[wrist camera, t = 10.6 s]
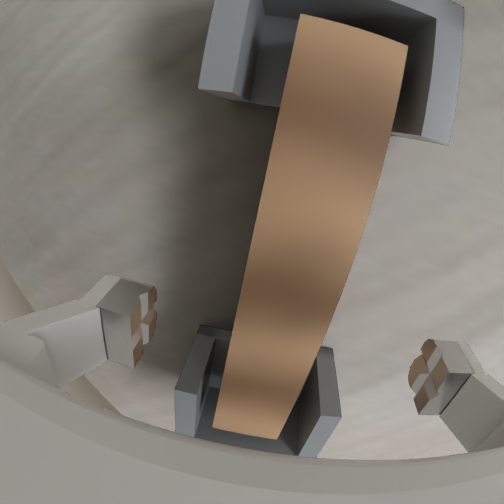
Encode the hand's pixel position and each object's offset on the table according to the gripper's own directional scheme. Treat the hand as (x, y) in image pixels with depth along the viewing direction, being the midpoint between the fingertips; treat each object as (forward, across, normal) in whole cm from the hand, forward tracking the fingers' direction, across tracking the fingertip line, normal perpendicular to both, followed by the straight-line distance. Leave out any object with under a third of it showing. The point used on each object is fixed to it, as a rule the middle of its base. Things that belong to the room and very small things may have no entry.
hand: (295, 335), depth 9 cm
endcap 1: (+10, 0, -9) cm, 13 cm away
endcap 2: (+9, 0, +11) cm, 14 cm away
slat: (+8, 0, +1) cm, 9 cm away
